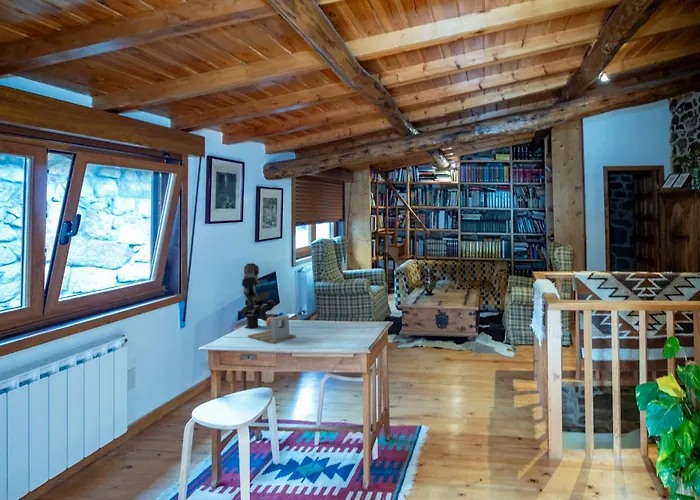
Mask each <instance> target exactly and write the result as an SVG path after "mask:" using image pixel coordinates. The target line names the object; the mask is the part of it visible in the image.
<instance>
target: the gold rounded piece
mask: <svg viewBox="0 0 700 500" xmlns="http://www.w3.org/2000/svg"><path fill="white" fill-rule="evenodd" d="M273 317H274V316H267V319H266V321H265V325H266V326H267V327H268V328H271V327H270V321H271V318H273ZM281 326H282V321H279V327H281Z"/></svg>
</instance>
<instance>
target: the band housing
mask: <svg viewBox="0 0 700 500" xmlns="http://www.w3.org/2000/svg"><path fill="white" fill-rule="evenodd" d="M272 317H273V318H271V321H270V327H269V328H270V330H271V339H274V340H277V339H281V338H285V337H288V336H289V334H290V322H289V321H290V320H289V319H290V317H289V315H286V314H284V315H278V316H272ZM279 321H282V326H281V327H279Z"/></svg>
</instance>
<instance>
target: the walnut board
mask: <svg viewBox="0 0 700 500" xmlns="http://www.w3.org/2000/svg"><path fill="white" fill-rule="evenodd" d="M296 337H297V336H296V334H291V333H289V336H288V337H285V338H281V339H277V340H274V339H271V329H269V330H268V329H267V330H264V331H260V332H256V333H251V334H248V335H247V338H249V339H253V340H257V341H261V342H264V343H268V344H272V345H273V344H276V343H280V342H284V341H288V340H291V339H295V338H296Z"/></svg>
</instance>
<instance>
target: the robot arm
mask: <svg viewBox="0 0 700 500" xmlns="http://www.w3.org/2000/svg"><path fill="white" fill-rule="evenodd" d="M243 274H244V276H243V279H241V286H242V288H243V295H244V296H245V298H246V299H245V300H244V301H245V302H244V306H243V307H242V309H241V311H240V312H241V315H242V317H243V319H245V318H246V325H245V326H244V328H246V329H251V330H252V329H253V330H254V329H256V328H261V325H259V319H261V320H262V321H263V322H266V319H267V318H268V316H267V312H269V311H272V310H273V308H274V307H275V306H276V305H277V303H276V302H275V300H268V298H270V295H269V292H267V291H264V292H263V293H258V294H257V291H256V288H257V286H258V285H259V280H258V278H259V275H260V267H259V265H257V264H256V263H253V262H252V263H246V265H245V266H244V267H243ZM265 301H266V302H265Z"/></svg>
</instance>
